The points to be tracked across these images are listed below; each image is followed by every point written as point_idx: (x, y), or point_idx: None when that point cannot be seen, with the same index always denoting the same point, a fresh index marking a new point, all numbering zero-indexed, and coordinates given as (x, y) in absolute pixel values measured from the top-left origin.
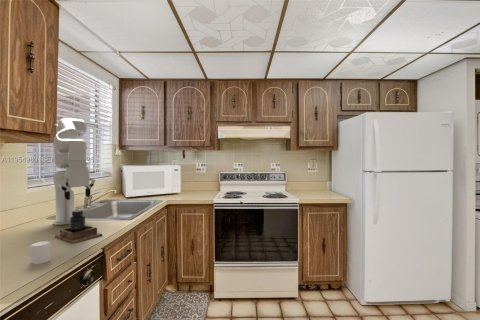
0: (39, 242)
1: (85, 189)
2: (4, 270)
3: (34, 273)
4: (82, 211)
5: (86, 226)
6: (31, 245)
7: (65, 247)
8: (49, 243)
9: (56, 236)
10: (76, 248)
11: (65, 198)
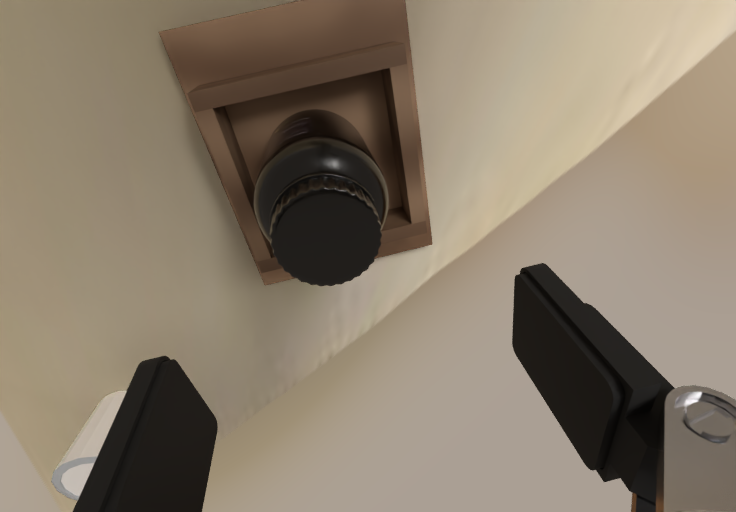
0: (91, 467)
1: (608, 384)
2: (11, 429)
3: None
4: (370, 260)
5: (395, 118)
6: (63, 491)
7: (225, 312)
8: None
9: (174, 63)
10: (269, 351)
11: (141, 367)
